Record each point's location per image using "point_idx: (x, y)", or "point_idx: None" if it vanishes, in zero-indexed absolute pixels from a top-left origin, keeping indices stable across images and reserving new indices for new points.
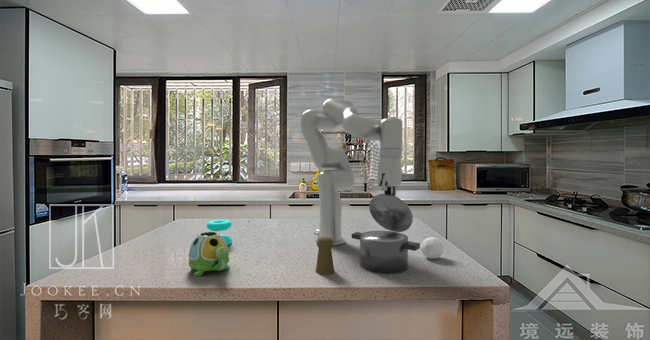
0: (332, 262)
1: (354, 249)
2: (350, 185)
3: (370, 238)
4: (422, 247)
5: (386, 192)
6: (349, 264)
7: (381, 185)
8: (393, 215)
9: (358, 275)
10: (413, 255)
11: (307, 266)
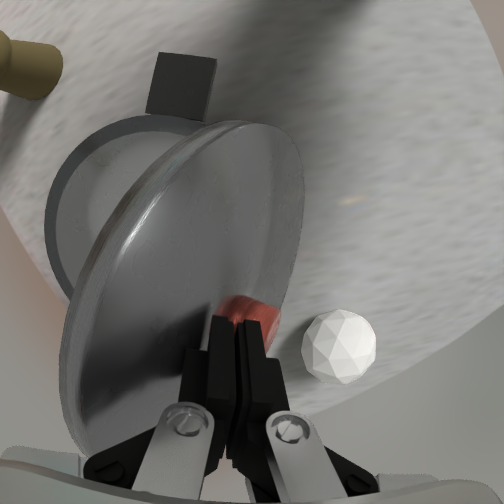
0: (24, 92)
1: (309, 42)
2: None
3: (75, 203)
4: (320, 327)
5: (131, 451)
6: (122, 98)
7: (97, 497)
8: None
9: (53, 174)
10: (335, 273)
11: (54, 8)
